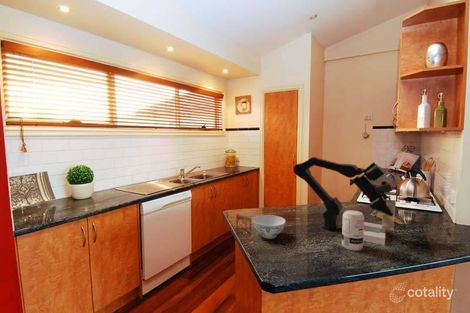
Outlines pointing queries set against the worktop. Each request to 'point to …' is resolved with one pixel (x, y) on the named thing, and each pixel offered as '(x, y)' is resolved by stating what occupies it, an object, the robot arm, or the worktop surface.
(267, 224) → the chinaware
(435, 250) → the worktop surface
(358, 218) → the supplement can
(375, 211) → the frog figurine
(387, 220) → the block
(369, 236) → the white flat frame
